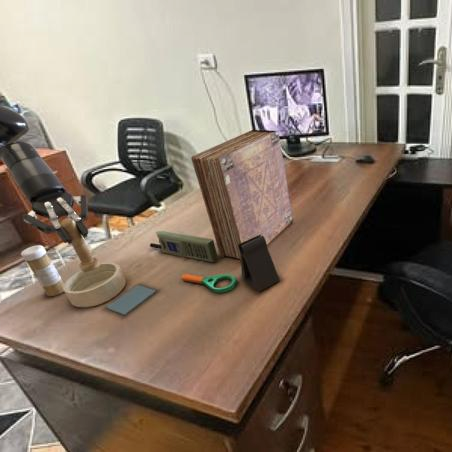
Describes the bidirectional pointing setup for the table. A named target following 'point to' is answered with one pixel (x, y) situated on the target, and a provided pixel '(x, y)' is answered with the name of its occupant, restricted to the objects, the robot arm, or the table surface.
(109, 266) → the bowl
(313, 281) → the table surface
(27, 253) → the sprinkles bottle
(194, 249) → the handheld radio
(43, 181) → the robot arm
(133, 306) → the rest mat
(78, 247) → the wooden pestle
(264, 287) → the phone stand
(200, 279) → the magnifying glass
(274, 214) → the book
